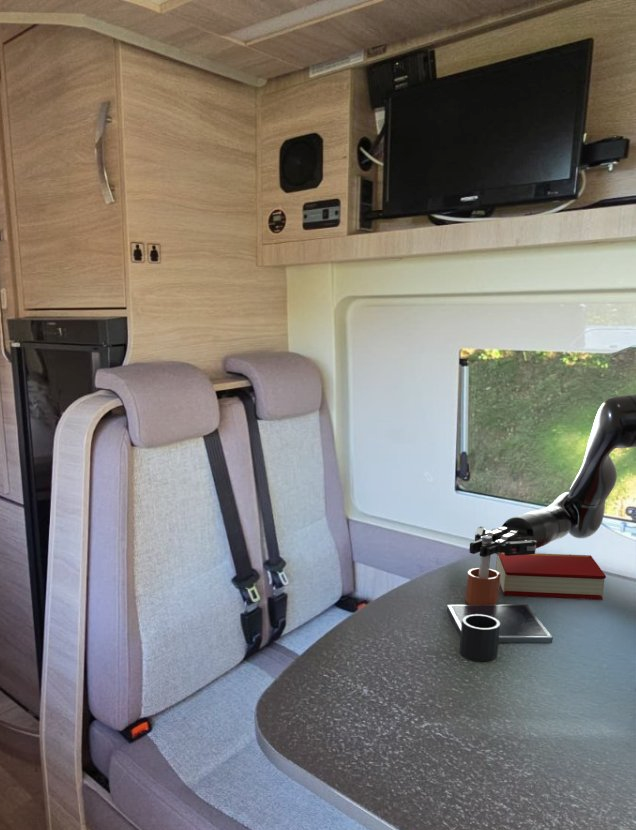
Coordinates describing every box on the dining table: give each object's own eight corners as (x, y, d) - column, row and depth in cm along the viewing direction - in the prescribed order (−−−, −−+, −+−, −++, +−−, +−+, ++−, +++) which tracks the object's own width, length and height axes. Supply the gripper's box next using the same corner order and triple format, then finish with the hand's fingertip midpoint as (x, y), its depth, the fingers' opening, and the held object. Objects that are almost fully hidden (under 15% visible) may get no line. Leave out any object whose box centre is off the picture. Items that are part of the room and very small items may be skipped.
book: (586, 576, 152) (589, 553, 151) (602, 599, 141) (606, 576, 139) (495, 572, 156) (497, 550, 155) (503, 595, 145) (506, 572, 143)
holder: (491, 645, 125) (494, 614, 123) (501, 662, 120) (504, 629, 118) (456, 645, 126) (458, 614, 124) (464, 661, 120) (466, 629, 118)
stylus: (484, 597, 143) (490, 535, 139) (487, 600, 142) (493, 538, 137) (475, 597, 144) (481, 535, 139) (477, 600, 142) (483, 538, 137)
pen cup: (492, 595, 145) (495, 567, 143) (501, 607, 140) (504, 578, 137) (462, 595, 146) (464, 567, 144) (469, 607, 140) (471, 579, 138)
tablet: (526, 609, 138) (527, 603, 138) (552, 642, 125) (553, 636, 125) (446, 609, 140) (447, 604, 139) (463, 642, 127) (464, 636, 126)
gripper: (502, 506, 150) (448, 523, 141) (564, 520, 140) (510, 540, 130) (498, 540, 153) (445, 559, 144) (559, 557, 142) (506, 578, 133)
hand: (476, 550), depth 137 cm, fingers closed on stylus, 2 cm apart
